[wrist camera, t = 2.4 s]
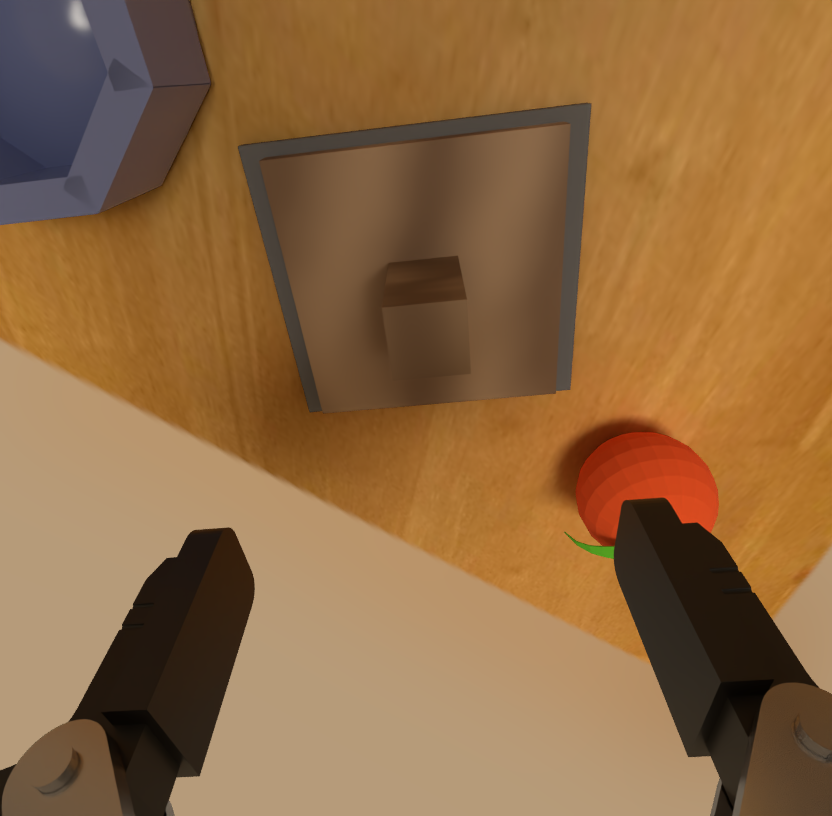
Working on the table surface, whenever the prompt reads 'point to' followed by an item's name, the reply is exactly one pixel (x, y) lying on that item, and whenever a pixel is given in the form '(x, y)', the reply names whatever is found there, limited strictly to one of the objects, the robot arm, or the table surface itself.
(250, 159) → the mat
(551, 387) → the lid
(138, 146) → the bowl
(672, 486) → the clementine
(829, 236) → the table surface
